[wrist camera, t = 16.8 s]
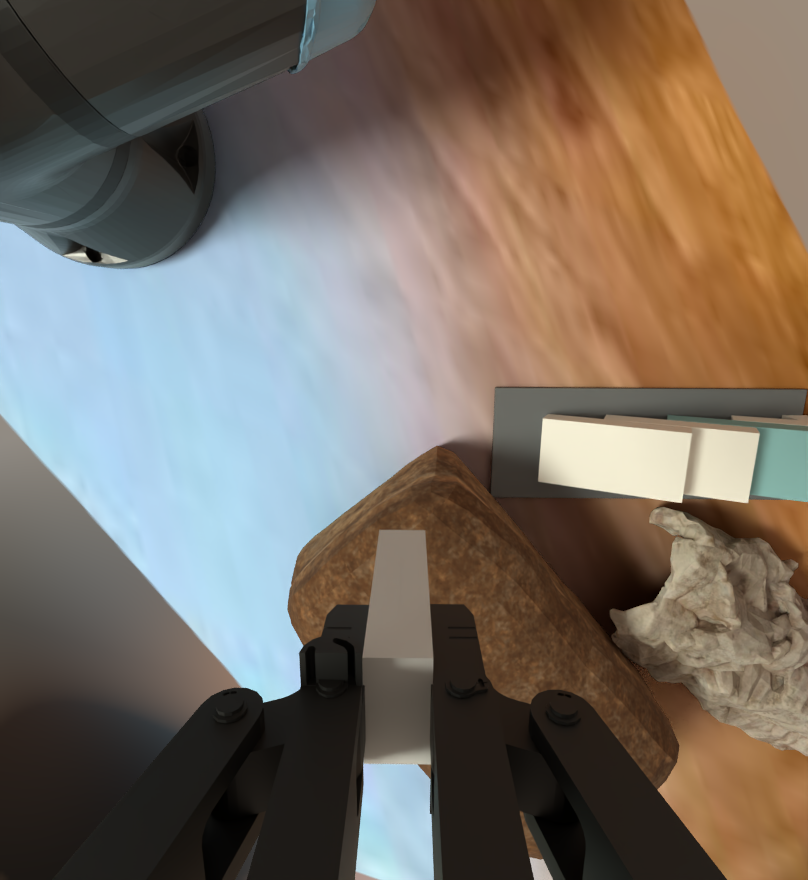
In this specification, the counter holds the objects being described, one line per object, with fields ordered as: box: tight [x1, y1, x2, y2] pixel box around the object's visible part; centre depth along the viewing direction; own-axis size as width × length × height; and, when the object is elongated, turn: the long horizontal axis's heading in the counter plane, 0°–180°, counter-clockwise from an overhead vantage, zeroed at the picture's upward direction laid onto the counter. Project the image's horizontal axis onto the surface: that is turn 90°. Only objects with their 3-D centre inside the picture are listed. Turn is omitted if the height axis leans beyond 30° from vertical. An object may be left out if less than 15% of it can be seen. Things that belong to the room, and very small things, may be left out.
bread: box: [288, 446, 679, 859], centre depth 41 cm, size 17×30×13 cm, turn 40°
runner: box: [490, 387, 807, 500], centre depth 43 cm, size 24×9×1 cm, turn 90°
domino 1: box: [538, 414, 692, 503], centre depth 40 cm, size 2×5×10 cm
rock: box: [610, 507, 808, 756], centre depth 44 cm, size 24×9×15 cm
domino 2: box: [604, 415, 760, 503], centre depth 40 cm, size 2×5×10 cm
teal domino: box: [667, 415, 808, 502], centre depth 40 cm, size 2×5×10 cm
